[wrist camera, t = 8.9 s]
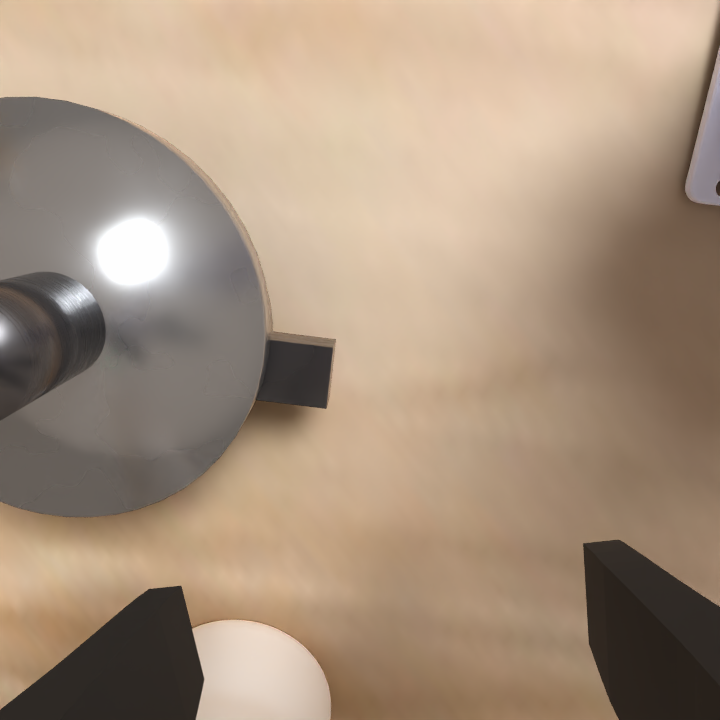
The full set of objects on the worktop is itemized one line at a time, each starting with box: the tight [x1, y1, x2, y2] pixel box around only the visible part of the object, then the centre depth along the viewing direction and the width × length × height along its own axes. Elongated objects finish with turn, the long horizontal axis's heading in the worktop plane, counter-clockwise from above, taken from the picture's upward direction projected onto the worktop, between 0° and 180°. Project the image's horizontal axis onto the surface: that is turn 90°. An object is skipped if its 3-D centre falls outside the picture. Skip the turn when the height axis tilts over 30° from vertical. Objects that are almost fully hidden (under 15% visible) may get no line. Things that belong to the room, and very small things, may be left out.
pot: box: [256, 292, 336, 409], centre depth 19 cm, size 14×10×4 cm
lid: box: [0, 97, 271, 517], centre depth 15 cm, size 11×11×5 cm
